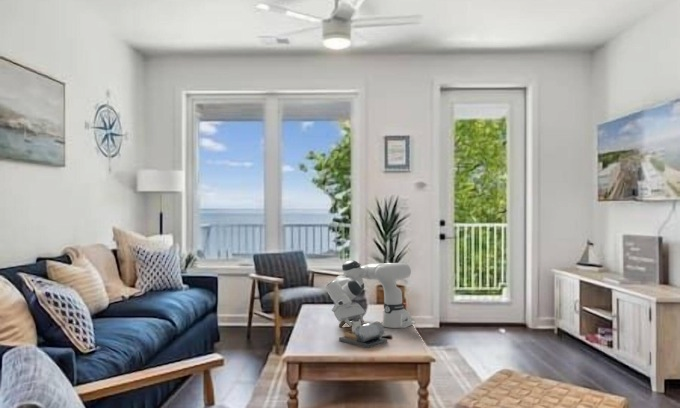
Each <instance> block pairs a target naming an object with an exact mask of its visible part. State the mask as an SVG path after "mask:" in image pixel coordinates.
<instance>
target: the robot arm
mask: <svg viewBox="0 0 680 408" xmlns="http://www.w3.org/2000/svg"><path fill="white" fill-rule="evenodd" d="M341 268H342V271H343V274H340V275H337V276H336V277H335V278H334V280H332V281H330V282H329V283H328V284H327V285H326V287H325V289H326V291H327V293H328V295H329V297H330V299H331V301H332V302H333V304H334V306H333V307H332V309H331V311H332V313H333V314H334V317H335V318H336V320H337V321H338V322H340V323H341V321H345V322H346V323H347V324H348V325H349V326H352V325H353V323H352V322H350V321H349V319H353V317H359V320H360V321H361V324H363V323H365V320H364V319H363V318H364V317H363V316H364V315H365V314H366V311H365V309H364V308H363V307H362V306H361V305H360V304H359V303H357V302H356V301H355V302H354V303H353V301H352V300H353V299H355V298H357V296H359V295H360V294H362V292H363V290H364V289H365V283H364V279H365V280H368V281H377V282H379V283H380V284H381V286H382V288H383V295H384V296H383V298H384V301H383V311H382V321H381V322H380V323H381V324H382V325H383V327H384V328H390V329H392V328H393V329H396V328H398V329H399V328H400V329H404V328H405V329H406V328H408V327H410V326H413V325H415V324H416V322H415V320H412V315H411V313H410V312H409V311H407V310H406V309H405V307H407V305H408V304H407V303H406V302H403V291H402V289H401V287H399V286H397V283H396V282H398V281H403V280H406V279H408V278H409V277H410V276H411V274H412V273H411V271H412V269H411V267H410V265H409V264H407V263H404V262H389V263H388V262H385V263H383V262H382V263H368V264H363V265H362V264H361V263H360V262H358V261H356V260H353V259H351V260H347V261H345V262H344V263H343V264H342V266H341ZM362 289H363V290H362Z"/></svg>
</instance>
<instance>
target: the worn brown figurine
mask: <svg viewBox="0 0 680 408" xmlns="http://www.w3.org/2000/svg"><path fill="white" fill-rule="evenodd" d="M354 302H356V300H355V299H354V300H353V301H352V303H354ZM352 320H353V319H349V321H352ZM345 323H346V322H345V321H341V322H340V323H339V324H338V327H339V328H341V327H342V326H343V325H344V324H345Z"/></svg>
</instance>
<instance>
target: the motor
mask: <svg viewBox="0 0 680 408" xmlns="http://www.w3.org/2000/svg"><path fill="white" fill-rule="evenodd" d="M381 323H382V322H380V321H372V322H369V323H365V324H361V325H360V326H358V327H357V328H356V330H355V334H352V330H349V331H346V332H344V336H340V337H338V342H342V343H345V344H350V345H353V346H359V347H363V348H367V349H370V348H374V347H377V346H380V345H383V344H386V343H388V338H386V337H383V336H384V333H385V329H384V328H385V327H384V326H383V325H382V324H381Z"/></svg>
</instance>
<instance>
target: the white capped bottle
mask: <svg viewBox="0 0 680 408" xmlns="http://www.w3.org/2000/svg"><path fill="white" fill-rule="evenodd" d="M352 323H353V325H352V327H351V331H352V334H355V330H356V328H357V327H358V326H360V325H362V323H361V321H360V318H359V317H353V320H352Z"/></svg>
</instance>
